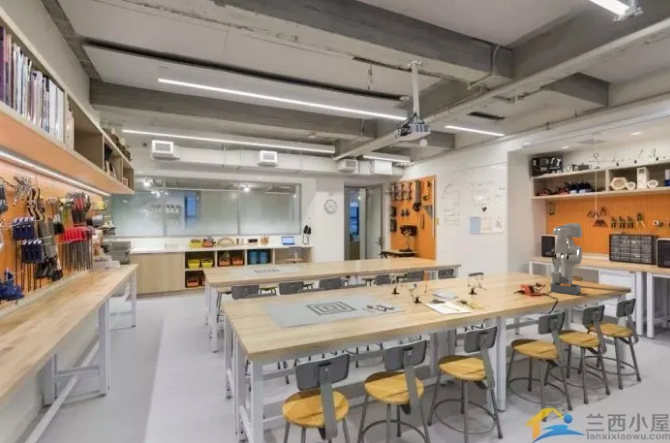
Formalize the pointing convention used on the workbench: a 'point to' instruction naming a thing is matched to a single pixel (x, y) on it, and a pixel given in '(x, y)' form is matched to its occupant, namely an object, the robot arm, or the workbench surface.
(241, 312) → the workbench surface
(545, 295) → the workbench surface
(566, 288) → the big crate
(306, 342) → the workbench surface
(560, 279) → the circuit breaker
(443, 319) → the workbench surface
